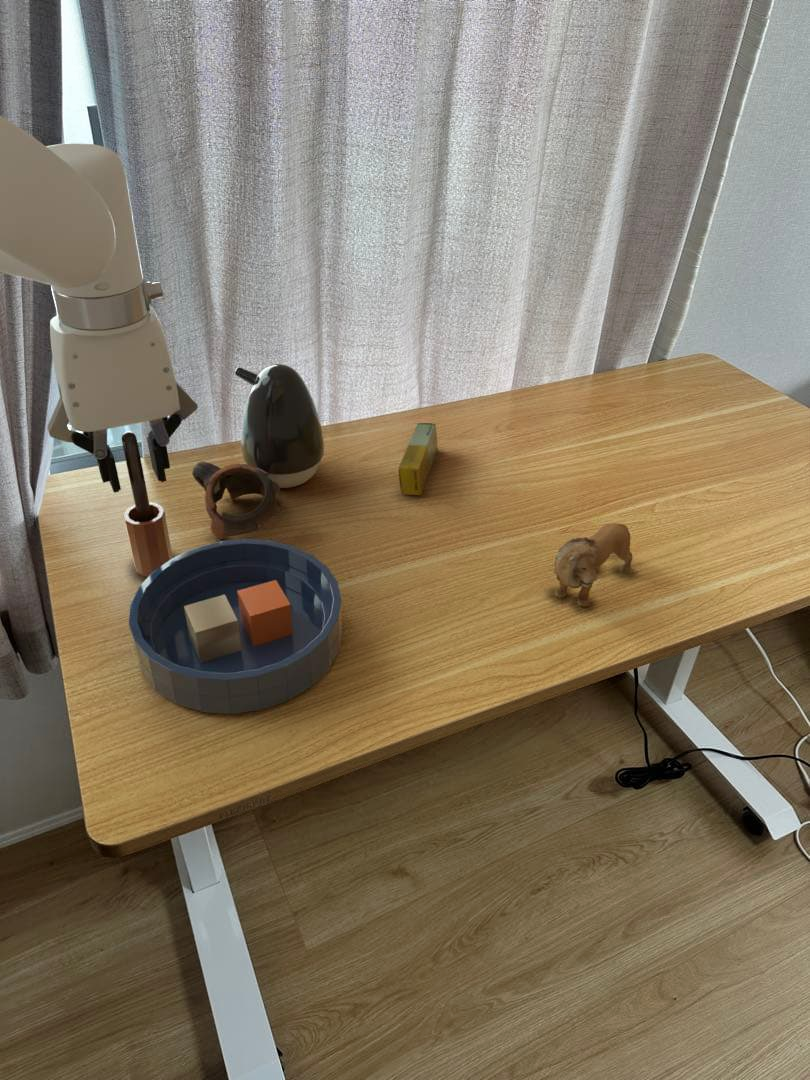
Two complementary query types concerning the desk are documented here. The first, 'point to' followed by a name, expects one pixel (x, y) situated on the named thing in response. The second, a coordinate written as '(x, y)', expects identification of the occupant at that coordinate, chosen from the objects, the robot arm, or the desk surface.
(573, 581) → the lion figurine
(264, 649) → the bowl
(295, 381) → the pump dispenser
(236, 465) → the pottery mug
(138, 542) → the holder
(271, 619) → the orange block
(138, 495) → the stick
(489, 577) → the desk surface
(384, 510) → the desk surface
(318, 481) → the desk surface
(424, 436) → the medication box
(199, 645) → the pale block
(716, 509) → the desk surface
